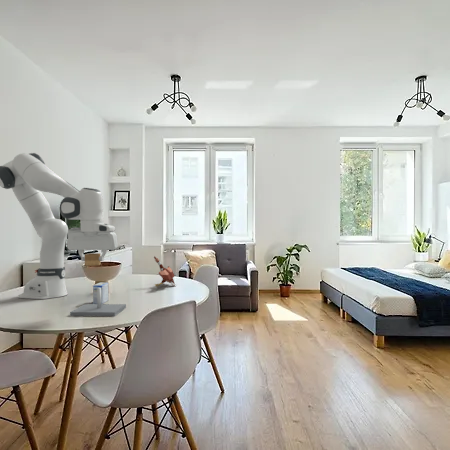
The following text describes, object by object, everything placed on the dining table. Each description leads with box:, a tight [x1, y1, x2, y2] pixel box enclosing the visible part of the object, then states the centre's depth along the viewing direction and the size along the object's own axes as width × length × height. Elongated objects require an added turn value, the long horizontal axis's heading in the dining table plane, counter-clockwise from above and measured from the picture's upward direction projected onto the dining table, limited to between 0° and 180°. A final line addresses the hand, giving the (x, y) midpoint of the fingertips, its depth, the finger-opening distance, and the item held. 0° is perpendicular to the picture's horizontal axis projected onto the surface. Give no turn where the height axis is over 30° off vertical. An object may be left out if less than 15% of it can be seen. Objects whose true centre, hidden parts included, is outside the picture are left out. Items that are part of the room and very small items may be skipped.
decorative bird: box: [153, 255, 176, 287], centre depth 208 cm, size 28×18×15 cm, turn 178°
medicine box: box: [92, 282, 109, 304], centre depth 167 cm, size 8×4×9 cm, turn 178°
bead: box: [84, 252, 102, 267], centre depth 148 cm, size 6×6×4 cm
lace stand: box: [69, 288, 127, 317], centre depth 150 cm, size 18×14×10 cm
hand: (92, 260), depth 148 cm, fingers closed on bead, 6 cm apart
